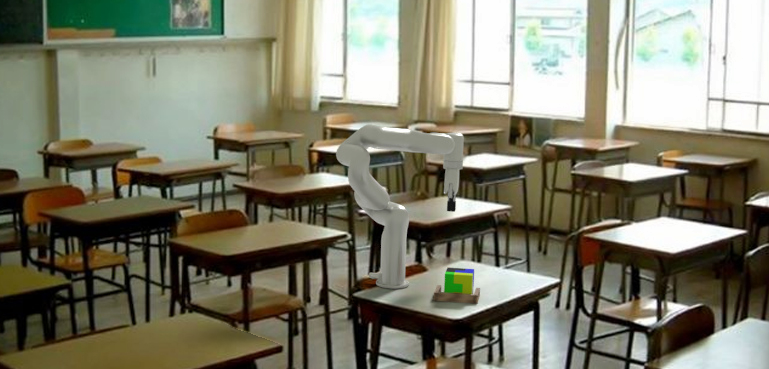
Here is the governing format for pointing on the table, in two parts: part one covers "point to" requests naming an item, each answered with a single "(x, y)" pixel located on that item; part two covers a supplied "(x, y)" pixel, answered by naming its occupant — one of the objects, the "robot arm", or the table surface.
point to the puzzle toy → (459, 280)
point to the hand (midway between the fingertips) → (451, 210)
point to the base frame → (456, 296)
